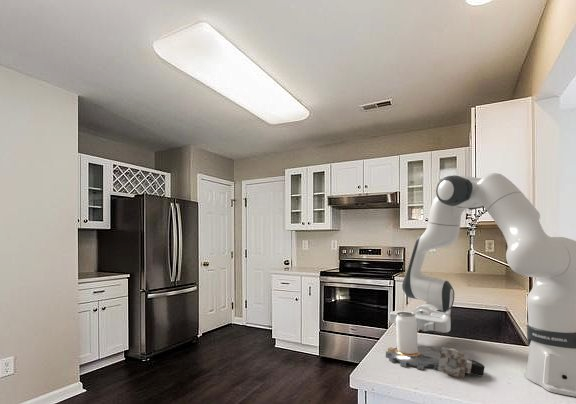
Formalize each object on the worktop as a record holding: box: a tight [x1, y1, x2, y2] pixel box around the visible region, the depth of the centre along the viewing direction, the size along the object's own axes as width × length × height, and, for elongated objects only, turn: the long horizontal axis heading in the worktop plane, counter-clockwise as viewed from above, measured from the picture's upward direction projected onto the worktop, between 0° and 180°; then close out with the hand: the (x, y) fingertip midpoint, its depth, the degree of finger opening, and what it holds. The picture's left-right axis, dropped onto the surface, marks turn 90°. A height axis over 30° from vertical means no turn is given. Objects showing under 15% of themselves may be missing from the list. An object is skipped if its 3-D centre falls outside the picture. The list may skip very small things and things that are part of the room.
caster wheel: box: [437, 346, 485, 380], centre depth 100 cm, size 7×11×10 cm
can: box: [395, 311, 419, 355], centre depth 114 cm, size 6×6×12 cm
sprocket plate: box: [385, 346, 442, 371], centre depth 112 cm, size 19×19×1 cm
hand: (409, 325), depth 116 cm, fingers open, 8 cm apart
